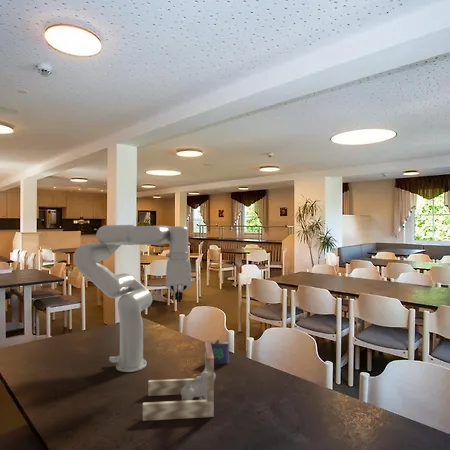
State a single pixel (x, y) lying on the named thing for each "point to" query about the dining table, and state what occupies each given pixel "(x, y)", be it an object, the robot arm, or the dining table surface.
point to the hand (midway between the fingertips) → (178, 301)
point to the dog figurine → (196, 388)
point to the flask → (220, 352)
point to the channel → (174, 388)
